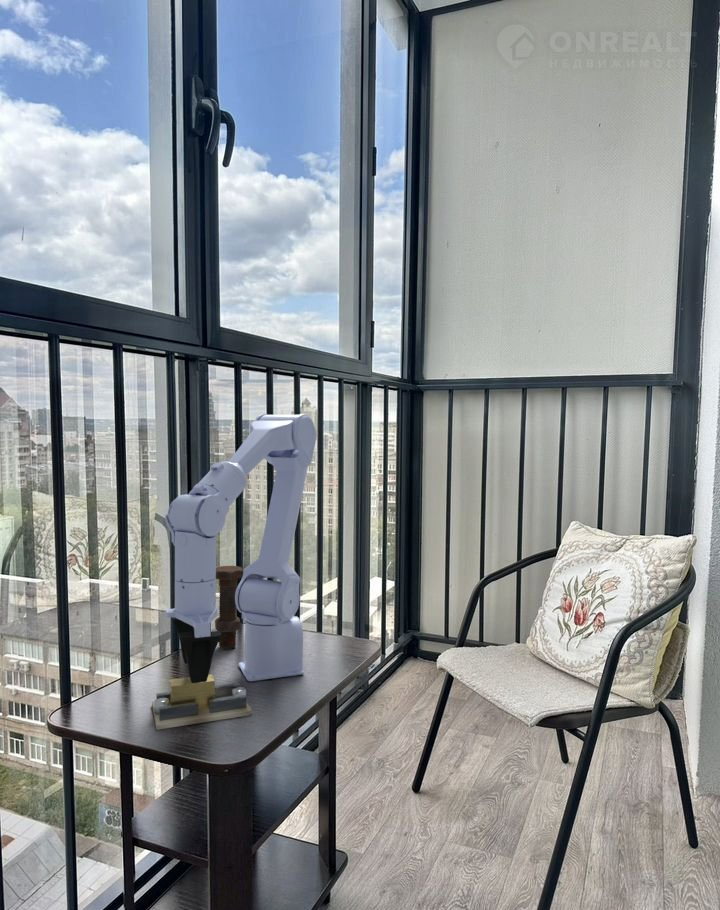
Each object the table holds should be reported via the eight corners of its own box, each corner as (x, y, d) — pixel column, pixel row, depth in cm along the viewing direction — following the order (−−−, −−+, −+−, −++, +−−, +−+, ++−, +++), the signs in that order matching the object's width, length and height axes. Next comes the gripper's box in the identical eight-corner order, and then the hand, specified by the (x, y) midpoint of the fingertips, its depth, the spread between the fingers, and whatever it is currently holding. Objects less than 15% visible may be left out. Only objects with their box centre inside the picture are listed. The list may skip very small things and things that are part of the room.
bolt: (231, 640, 121) (231, 564, 120) (248, 646, 117) (249, 568, 117) (206, 648, 116) (207, 568, 116) (223, 654, 113) (224, 572, 112)
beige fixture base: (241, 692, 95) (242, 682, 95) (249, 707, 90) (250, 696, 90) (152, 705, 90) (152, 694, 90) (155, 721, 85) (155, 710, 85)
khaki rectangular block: (211, 700, 92) (211, 674, 92) (214, 708, 89) (214, 680, 89) (169, 707, 89) (169, 679, 89) (171, 714, 87) (171, 686, 87)
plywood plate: (240, 693, 96) (240, 689, 96) (251, 714, 89) (251, 710, 89) (152, 705, 91) (152, 701, 91) (156, 729, 84) (156, 725, 84)
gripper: (161, 569, 94) (161, 657, 95) (171, 592, 81) (171, 695, 81) (209, 566, 97) (208, 652, 97) (226, 588, 84) (225, 687, 84)
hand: (195, 671), depth 90 cm, fingers open, 7 cm apart
